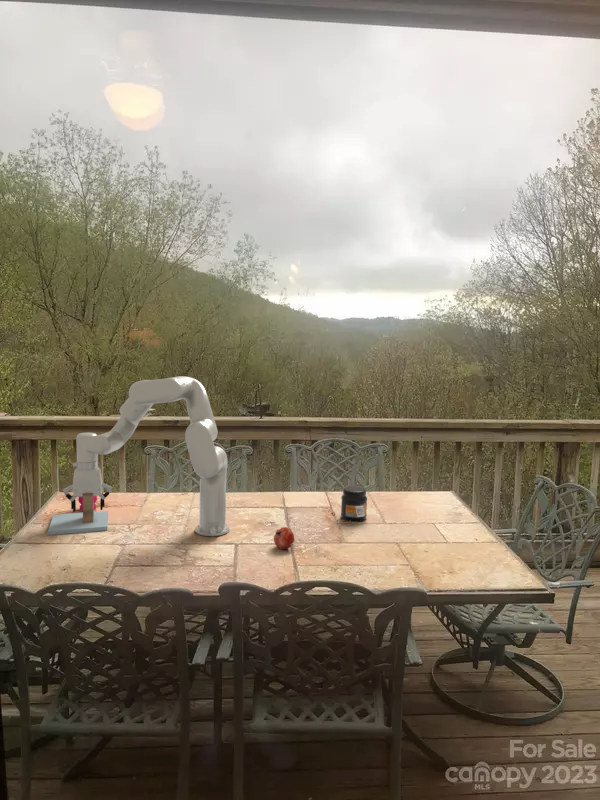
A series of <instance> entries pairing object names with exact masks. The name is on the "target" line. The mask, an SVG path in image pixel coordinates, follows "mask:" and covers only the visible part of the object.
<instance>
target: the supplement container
mask: <svg viewBox="0 0 600 800" xmlns="http://www.w3.org/2000/svg"><path fill="white" fill-rule="evenodd" d="M340 499H341V503H340V504H341V505H340V506H341V507H340V508H341V510H340V511H341V512H340V516H341V518H342V519H344V520H346V521H349V520H351V522H359V521H360V520H361V521H364V520H365V519H366V518H367V515H368V514H367V509H368V507H367V505H368V503H367V502H368V497H367V489H366V488H365V487H363V486H362V487H361V486H358V485H357V486H356V485H355V486H353V485H351V486H350V485H349V486H344V487H343V488H342V495H341V497H340ZM361 521H360V522H361Z"/></svg>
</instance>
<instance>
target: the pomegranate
mask: <svg viewBox="0 0 600 800" xmlns="http://www.w3.org/2000/svg"><path fill="white" fill-rule="evenodd" d="M273 535H274V536H273V542H274V544H275V546H276V547H277V548H280V549H282V550H288V549H290V548H291V546H294V542H295V535H294V532H293V531H292V529H291V528H289V527H288V526H287V527H286V526H284V527H281V528H279V529H277V530H276V531H275V534H273Z"/></svg>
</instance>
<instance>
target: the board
mask: <svg viewBox="0 0 600 800" xmlns="http://www.w3.org/2000/svg"><path fill="white" fill-rule="evenodd" d="M108 521H109V510H99V511H94V519H93V522H89V523H83V512H73V513H72V512H68V513H57V514H56V513H55V514H53V516H52V519H51V521H50V524H49V527H48V529H47V536H53V535H54V536H55V535H66V534H67V535H68V534H78V533H79V534H80V533H92V532H93V533H94V532H105V531H108V526H109V524H108V523H109V522H108Z"/></svg>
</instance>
